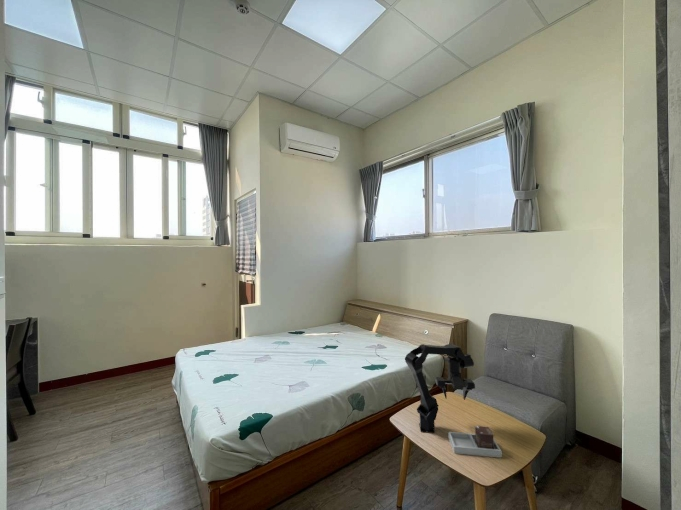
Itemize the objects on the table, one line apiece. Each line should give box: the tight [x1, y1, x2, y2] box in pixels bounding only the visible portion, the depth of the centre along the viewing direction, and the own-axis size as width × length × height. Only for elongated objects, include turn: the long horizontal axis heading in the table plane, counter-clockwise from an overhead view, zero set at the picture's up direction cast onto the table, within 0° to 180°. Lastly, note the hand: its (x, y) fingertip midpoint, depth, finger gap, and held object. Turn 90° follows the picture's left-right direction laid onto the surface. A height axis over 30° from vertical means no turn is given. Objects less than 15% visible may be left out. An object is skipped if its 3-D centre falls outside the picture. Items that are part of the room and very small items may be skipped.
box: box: [474, 425, 495, 449], centre depth 123 cm, size 6×6×7 cm
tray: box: [447, 431, 503, 458], centre depth 123 cm, size 20×11×3 cm, turn 82°
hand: (454, 398), depth 143 cm, fingers open, 9 cm apart
